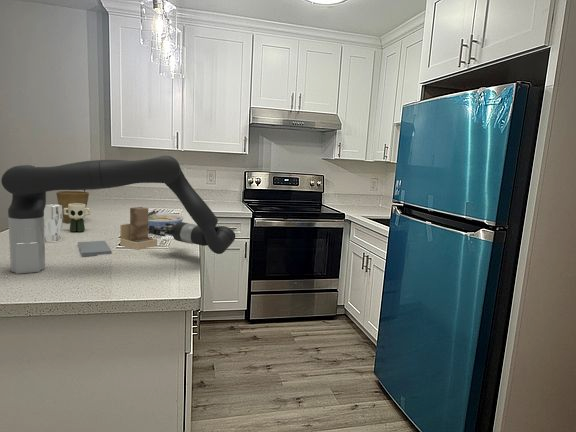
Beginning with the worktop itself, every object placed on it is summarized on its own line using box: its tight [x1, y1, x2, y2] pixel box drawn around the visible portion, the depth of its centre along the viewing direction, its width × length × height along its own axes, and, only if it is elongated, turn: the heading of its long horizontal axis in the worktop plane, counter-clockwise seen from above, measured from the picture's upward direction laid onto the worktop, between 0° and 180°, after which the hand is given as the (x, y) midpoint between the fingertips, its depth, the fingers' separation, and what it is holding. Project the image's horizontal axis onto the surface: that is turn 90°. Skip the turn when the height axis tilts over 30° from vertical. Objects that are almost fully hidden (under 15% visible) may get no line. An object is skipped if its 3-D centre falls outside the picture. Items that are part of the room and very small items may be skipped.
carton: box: [119, 223, 158, 251], centre depth 156 cm, size 13×16×9 cm
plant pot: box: [55, 190, 90, 224], centre depth 196 cm, size 15×15×16 cm
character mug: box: [64, 203, 91, 232], centre depth 176 cm, size 11×7×13 cm, turn 115°
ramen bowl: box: [148, 210, 185, 230], centre depth 191 cm, size 25×23×8 cm
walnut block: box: [129, 206, 149, 243], centre depth 156 cm, size 5×5×16 cm
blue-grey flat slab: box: [77, 240, 113, 258], centre depth 147 cm, size 18×10×2 cm, turn 33°
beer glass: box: [44, 203, 64, 243], centre depth 157 cm, size 7×7×15 cm
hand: (158, 226), depth 151 cm, fingers open, 8 cm apart
